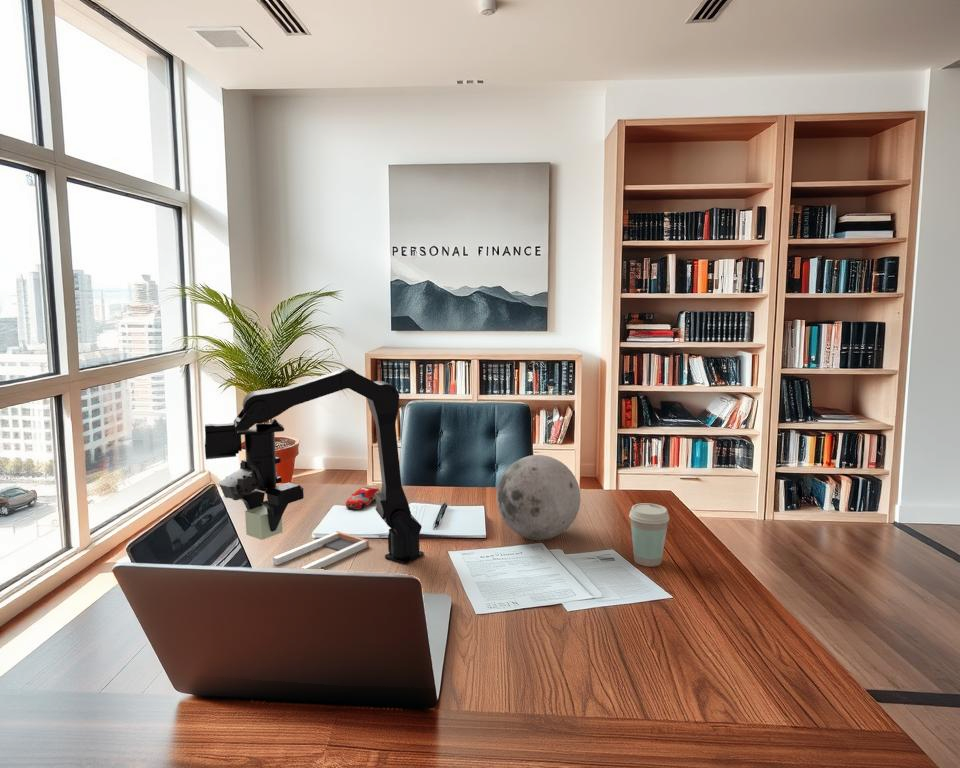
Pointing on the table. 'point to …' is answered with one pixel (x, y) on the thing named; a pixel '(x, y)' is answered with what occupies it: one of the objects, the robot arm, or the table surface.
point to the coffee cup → (648, 533)
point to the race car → (362, 498)
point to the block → (260, 523)
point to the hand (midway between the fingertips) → (264, 528)
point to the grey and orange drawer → (344, 541)
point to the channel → (317, 544)
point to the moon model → (538, 497)
